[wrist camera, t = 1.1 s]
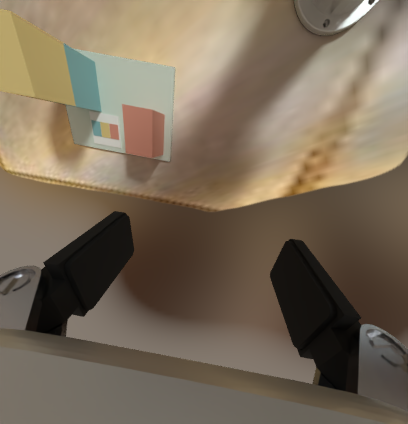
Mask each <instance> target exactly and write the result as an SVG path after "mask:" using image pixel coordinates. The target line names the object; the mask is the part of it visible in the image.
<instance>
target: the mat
mask: <svg viewBox="0 0 408 424" xmlns="http://www.w3.org/2000/svg"><path fill="white" fill-rule="evenodd" d="M74 50H76V51H77V52H79V53H81V54H82V55H84V56H86V57H87V58H89V59H91V60H92V61H94V62H95V66H96V74H97V81H98V89H99V96H100V104H101V111H102V112H100V111H95V110H90V109H84V108H79V107H74V106H69V105H66V109H67V114H68V118H69V123H70V127H71V132H72V136H73V140H74V144H78V145H83V146H89V147H94V148H99V149H104V150H110V151H115V152H120V153H126V149H125V136H124V123H123V110H122V104H125V105H130V106H135V107H141V108H146V109H152V110H154V111H157V112H159V113H162V114H164V115H165V122H164V152H163V155H161V156H158V157H155V158H152V159H157V160H163V161H168V162H170V158H171V139H172V121H173V103H174V85H175V67H171V66H165V65H160V64H154V63H149V62H143V61H138V60H132V59H127V58H121V57H116V56H111V55H105V54H100V53H94V52H89V51H83V50H78V49H74ZM89 111H93V112H98V113H103V114H109V115H114V116H119V127H120V138H121V148H118V147H113V146H107V145H102V144H97V143H94V138H93V132H92V126H91V120H90V114H89ZM126 154H127V153H126ZM131 155H133V154H131ZM136 156H138V155H136ZM142 157H143V156H142ZM147 158H149V157H147Z"/></svg>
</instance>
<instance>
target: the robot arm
mask: <svg viewBox="0 0 408 424" xmlns="http://www.w3.org/2000/svg"><path fill="white" fill-rule="evenodd" d="M378 1H379V0H294V5H295V8H296V12H297V15H298V17H299V19H300V21H301V23H302V24H303V25H304V26H305V27H306V28H307V29H308V30H309V31H311V32H312V33H314V34H318V35H332V34H336V33H339V32H341V31H343V30H345V29H348V28H349V27H351V26H352V25H353V24H355V23H356V22H358V21H359V20H360V19H361V18H362V17H363V16H364V15H366V14H367V13H368V12H369V11H370V10H371V9H372V8H373V7H374V6H375V5H376V3H377V2H378ZM323 26H324V27H323ZM133 252H134V246H133V239H132V232H131V225H130V219H129V216H127V214H126V213H123V212H116V211H115V212H113V213H112V214H110V215H109V216H107V217H106V218H105V219H103V220H102V221H100V222H99V223H98V224H96V225H95V226H93V227H92V228H91V229H90V230H88V231H87V232H85V233H84V234H82V235H81V236H80V237H78V238H77V239H76V240H74V241H73V242H71V243H70V244H68V245H67V246H66V247H64V248H63V249H62V250H60V251H59V252H58V253H56V254H55V255H53V256H52V257H50V258H49V259H48V260H46V261H45V262H44V265H45V267H44V268H43V269H42V270H41V269H40V268H39V267H37V266H24V267H19V268H16V269H13V270H10V271H8V272H5V273H4V274H1V275H0V424H408V349H407V348H406V347H405V346H404V345H403V344H402V343H400V342H399V341H398V340H397V339H396V338H394V337H393V336H392V335H390V334H389V333H387V332H386V331H384V330H382V329H380V328H379V327H376V326H373V325H369V324H364V325H362V326H361V324H360V323H359V322H358V320H359V319H361V317H360V315H359V314H358V313H357V312H356V310H355V309H354V308H353V306H352V305H351V304H350V303H349V301H348V300H347V298H346V297H345V296H344V294H343V293H342V292H341V291H340V289H339V288H338V287H337V285H336V284H335V283H334V282H333V280H332V279H331V277H330V276H329V275H328V273H327V272H326V271H325V270H324V268H323V267H322V266H321V265H320V263H319V262H318V260H317V259H316V258H315V256H314V255H313V254H312V253H311V251H310V250H309V249H308V247H307V246H306V245H305V243H304V242H303V241H301V240H295V239H290V240H289V241H286V242H285V244H284V246H283V248H282V250H281V252H280V254H279V256H278V258H277V260H276V262H275V264H274V266H273V268H272V270H271V273H270V278H271V281H272V284H273V287H274V290H275V293H276V296H277V299H278V302H279V305H280V307H281V311H282V313H283V316H284V319H285V322H286V325H287V328H288V331H289V334H290V337H291V340H292V342H293V345H294V346H295V347H296V348H297V349H298V352H299V355H300V357H304V358H310V359H314V362H315V364H316V370H315V374H314V379H313V384H309V383H305V382H299V381H295V380H289V379H284V378H279V377H274V376H269V375H264V374H259V373H254V372H249V371H243V370H239V369H234V368H229V367H223V366H218V365H213V364H208V363H202V362H197V361H192V360H187V359H181V358H177V357H171V356H166V355H161V354H156V353H150V352H144V351H139V350H135V349H129V348H124V347H118V346H112V345H108V344H102V343H97V342H92V341H86V340H81V339H75V338H70V337H66V331H67V321H68V318H69V317H70V316H71V315H72V314H73V315H77V316H85V315H86V313H87V312H88V311H89V310H91V309H92V308H94V306H95V305H96V304H97V302H98V301H99V300H100V298H101V297H102V296H103V294H104V293H105V291H106V290H107V289H108V288H109V286H110V284H111V283H112V282H113V281H114V279H115V278H116V277H117V275H118V274H119V273H120V271H121V270H122V269H123V267H124V266H125V264H126V263H127V262H128V260H129V259H130V258H131V256H132V255H133Z"/></svg>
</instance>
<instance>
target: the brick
mask: <svg viewBox="0 0 408 424" xmlns="http://www.w3.org/2000/svg"><path fill="white" fill-rule="evenodd" d="M122 110H123V123H124V136H125V149H126V153H127V154H133V155H138V156H143V157H149V158H155V157H158V156H161V155H163V152H164V122H165V115H164V114H162V113H159V112H157V111H154V110H152V109H146V108H141V107H135V106H130V105H125V104H122Z"/></svg>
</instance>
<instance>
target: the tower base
mask: <svg viewBox="0 0 408 424" xmlns="http://www.w3.org/2000/svg"><path fill="white" fill-rule="evenodd" d="M0 91H3V92H7V93H12V94H17V95H22V96H26V97H31V98H36V99H41V100H45V101H50V102H55V103H60V104H64V105H69V106H74V107H79V108H84V109H90V110H95V111H100V112H102V111H101V104H100V96H99V89H98V81H97V74H96V66H95V62H94V61H92V60H91V59H89V58H87V57H86V56H84V55H82V54H81V53H79V52H77V51H76V50H74V49H72V48H71V47H69V46H68V45H66V44H64V43H63V42H61V41H59V40H58V39H56V38H54V37H53V36H51V35H49V34H48V33H46V32H44V31H43V30H41V29H39V28H38V27H36V26H34V25H33V24H31V23H29V22H28V21H26V20H24V19H23V18H21V17H19V16H18V15H16V14H14V13H13V12H11V11H8V10H2V9H0Z"/></svg>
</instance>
